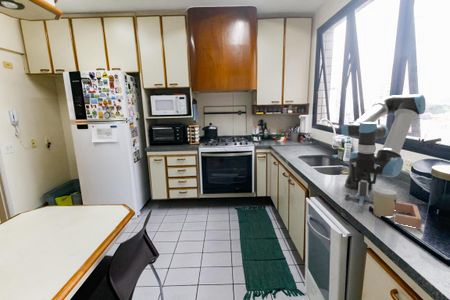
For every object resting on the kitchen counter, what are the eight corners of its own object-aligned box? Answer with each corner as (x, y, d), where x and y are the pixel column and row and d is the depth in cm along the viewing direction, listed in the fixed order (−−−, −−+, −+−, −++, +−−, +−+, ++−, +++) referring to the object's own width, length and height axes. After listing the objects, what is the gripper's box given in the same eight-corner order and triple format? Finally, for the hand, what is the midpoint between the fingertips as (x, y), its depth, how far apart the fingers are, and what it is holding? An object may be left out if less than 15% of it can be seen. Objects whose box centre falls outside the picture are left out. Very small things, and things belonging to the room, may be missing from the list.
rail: (345, 197, 128) (346, 192, 127) (403, 207, 113) (404, 202, 113) (345, 199, 126) (345, 194, 125) (404, 209, 111) (404, 203, 111)
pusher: (356, 198, 125) (357, 179, 123) (369, 201, 122) (370, 181, 120) (353, 211, 111) (354, 190, 109) (367, 214, 108) (369, 192, 106)
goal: (393, 209, 112) (394, 201, 111) (415, 213, 107) (416, 204, 106) (394, 224, 99) (395, 214, 98) (420, 229, 94) (421, 219, 93)
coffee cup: (399, 219, 102) (402, 195, 100) (376, 218, 104) (378, 194, 102) (389, 210, 111) (391, 187, 109) (368, 209, 113) (369, 187, 111)
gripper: (347, 152, 119) (345, 194, 123) (384, 154, 110) (380, 199, 114) (349, 149, 125) (346, 189, 129) (384, 152, 116) (380, 194, 120)
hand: (362, 194), depth 122 cm, fingers closed on pusher, 3 cm apart
